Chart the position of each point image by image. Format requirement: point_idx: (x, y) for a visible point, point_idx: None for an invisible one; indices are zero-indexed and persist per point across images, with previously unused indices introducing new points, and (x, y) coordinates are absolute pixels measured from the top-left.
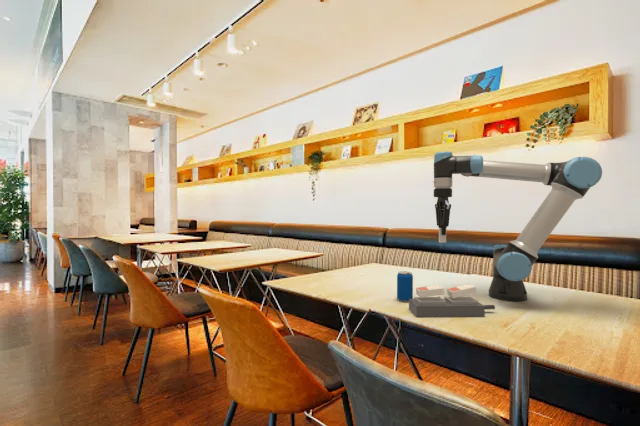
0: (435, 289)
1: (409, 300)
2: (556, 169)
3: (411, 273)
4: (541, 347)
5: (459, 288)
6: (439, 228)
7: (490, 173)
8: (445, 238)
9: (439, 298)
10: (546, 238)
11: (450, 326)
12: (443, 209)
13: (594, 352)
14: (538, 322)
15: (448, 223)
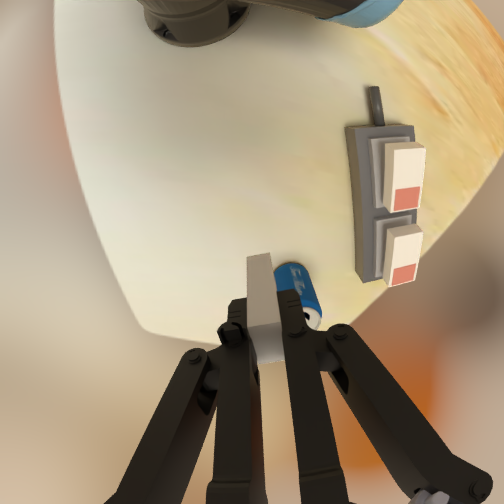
0: (420, 249)
1: (365, 280)
2: None
3: (310, 308)
4: (497, 114)
5: (409, 184)
6: (273, 356)
7: None
8: (272, 271)
9: (390, 224)
10: None
11: (444, 210)
12: (400, 486)
13: (497, 61)
14: (414, 37)
15: (362, 342)
